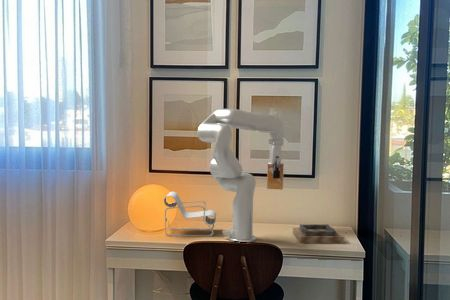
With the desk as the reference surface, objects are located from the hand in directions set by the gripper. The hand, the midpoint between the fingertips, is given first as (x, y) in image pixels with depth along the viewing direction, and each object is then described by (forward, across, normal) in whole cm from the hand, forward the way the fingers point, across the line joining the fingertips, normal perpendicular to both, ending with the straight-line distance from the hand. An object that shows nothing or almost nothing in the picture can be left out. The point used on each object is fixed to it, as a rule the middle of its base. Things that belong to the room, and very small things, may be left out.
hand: (275, 177), depth 224 cm
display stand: (+27, +16, +18) cm, 36 cm away
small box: (+6, 0, 0) cm, 6 cm away
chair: (+28, +4, -43) cm, 51 cm away
